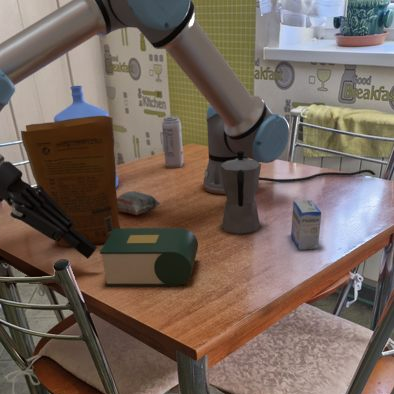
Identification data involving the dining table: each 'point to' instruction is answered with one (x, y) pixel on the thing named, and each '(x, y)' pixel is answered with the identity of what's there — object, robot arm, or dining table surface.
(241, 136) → the robot arm
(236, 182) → the coffeepot
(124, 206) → the packaged food
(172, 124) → the energy drink can
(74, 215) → the pancake mix bag
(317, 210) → the medicine box
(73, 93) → the water jug
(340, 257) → the dining table surface
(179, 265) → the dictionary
